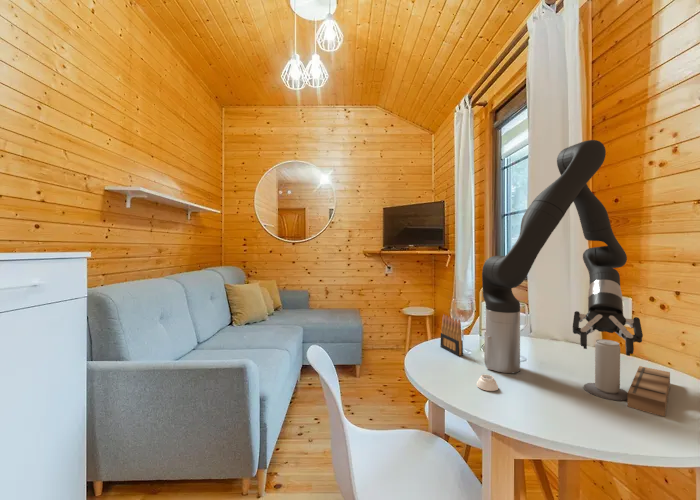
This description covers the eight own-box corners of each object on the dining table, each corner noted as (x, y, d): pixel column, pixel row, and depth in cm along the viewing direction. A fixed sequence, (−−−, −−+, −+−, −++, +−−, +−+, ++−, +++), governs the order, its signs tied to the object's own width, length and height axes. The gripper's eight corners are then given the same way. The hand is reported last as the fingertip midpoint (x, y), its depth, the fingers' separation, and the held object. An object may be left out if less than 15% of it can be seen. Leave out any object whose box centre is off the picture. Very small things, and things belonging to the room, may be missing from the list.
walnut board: (664, 416, 67) (664, 402, 67) (627, 406, 72) (627, 392, 72) (669, 383, 84) (670, 371, 84) (639, 376, 88) (639, 365, 88)
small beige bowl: (480, 382, 85) (474, 388, 81) (480, 371, 85) (473, 377, 81) (500, 387, 82) (494, 394, 78) (500, 376, 82) (494, 382, 78)
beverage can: (590, 386, 81) (590, 339, 81) (607, 385, 81) (607, 338, 81) (606, 395, 76) (606, 345, 76) (625, 394, 77) (625, 344, 77)
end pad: (594, 398, 76) (594, 396, 76) (577, 382, 84) (577, 381, 84) (639, 402, 73) (639, 401, 73) (617, 386, 82) (617, 384, 82)
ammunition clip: (463, 356, 105) (463, 319, 105) (458, 356, 105) (458, 320, 105) (444, 346, 116) (444, 313, 115) (440, 346, 115) (440, 313, 115)
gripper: (573, 289, 92) (571, 337, 83) (640, 293, 83) (645, 348, 74) (574, 304, 96) (572, 352, 87) (637, 310, 88) (642, 364, 79)
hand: (606, 350), depth 81 cm, fingers open, 8 cm apart
